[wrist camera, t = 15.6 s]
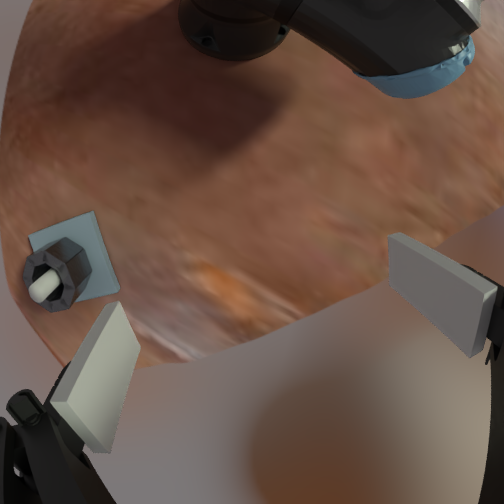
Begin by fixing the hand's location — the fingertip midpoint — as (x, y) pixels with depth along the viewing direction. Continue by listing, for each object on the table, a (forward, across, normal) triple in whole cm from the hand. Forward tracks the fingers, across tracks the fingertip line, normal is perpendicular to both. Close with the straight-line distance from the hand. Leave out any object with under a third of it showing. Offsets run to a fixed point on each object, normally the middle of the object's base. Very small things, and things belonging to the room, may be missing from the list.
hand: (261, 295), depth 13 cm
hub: (+24, -25, -2) cm, 35 cm away
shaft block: (+27, -25, -2) cm, 37 cm away
